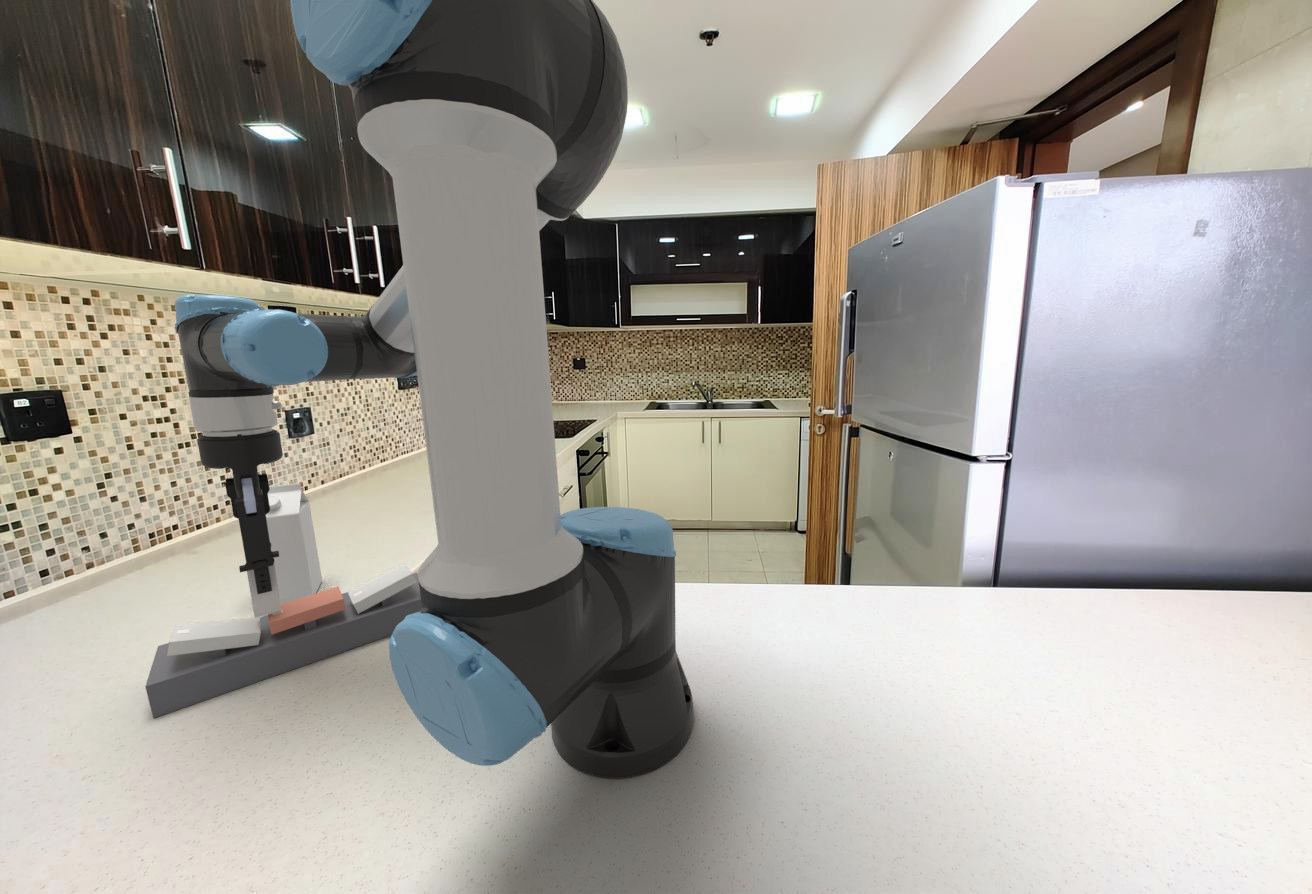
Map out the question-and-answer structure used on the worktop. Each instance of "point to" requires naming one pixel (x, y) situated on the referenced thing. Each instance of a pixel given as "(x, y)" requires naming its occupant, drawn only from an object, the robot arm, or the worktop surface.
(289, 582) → the milk carton
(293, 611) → the rocker red
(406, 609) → the dark grey switch base
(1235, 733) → the worktop surface
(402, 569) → the grey rocker
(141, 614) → the worktop surface
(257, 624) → the grey rocker
